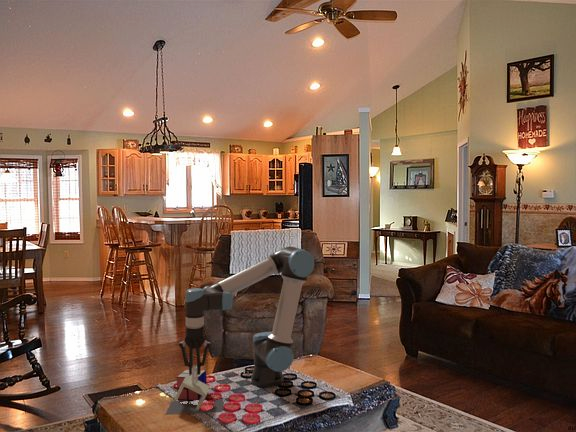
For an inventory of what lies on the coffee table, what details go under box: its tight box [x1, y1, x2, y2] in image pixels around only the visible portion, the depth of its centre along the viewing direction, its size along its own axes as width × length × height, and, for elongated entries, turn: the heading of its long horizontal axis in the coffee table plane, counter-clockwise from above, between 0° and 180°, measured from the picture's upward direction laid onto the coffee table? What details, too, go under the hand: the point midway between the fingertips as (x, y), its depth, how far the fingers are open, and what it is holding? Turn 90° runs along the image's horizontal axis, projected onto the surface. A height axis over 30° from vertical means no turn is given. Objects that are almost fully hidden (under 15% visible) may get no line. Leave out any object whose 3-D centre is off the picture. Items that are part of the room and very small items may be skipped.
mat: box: [164, 398, 226, 416], centre depth 218 cm, size 23×13×1 cm, turn 91°
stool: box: [174, 375, 211, 411], centre depth 217 cm, size 8×9×11 cm
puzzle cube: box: [176, 369, 208, 401], centre depth 229 cm, size 10×10×10 cm
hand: (194, 382), depth 217 cm, fingers closed
